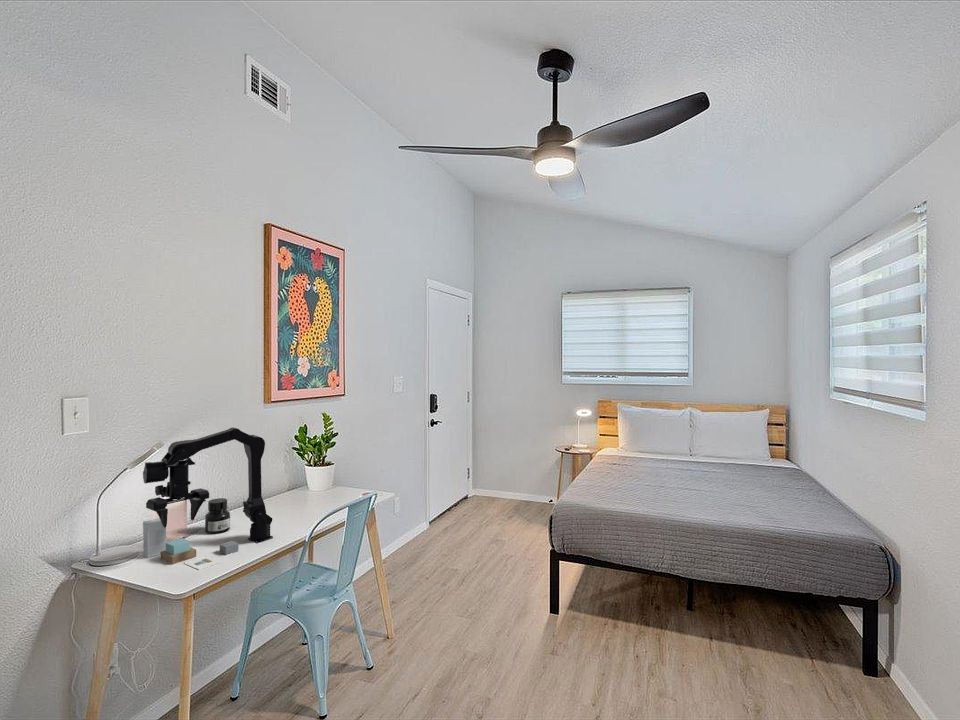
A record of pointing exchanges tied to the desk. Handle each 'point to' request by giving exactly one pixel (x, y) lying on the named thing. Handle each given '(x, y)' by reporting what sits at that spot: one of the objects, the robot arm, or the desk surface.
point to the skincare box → (153, 537)
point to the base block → (177, 556)
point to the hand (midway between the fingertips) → (178, 523)
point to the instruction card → (201, 563)
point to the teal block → (177, 546)
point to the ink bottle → (217, 516)
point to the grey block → (229, 547)
